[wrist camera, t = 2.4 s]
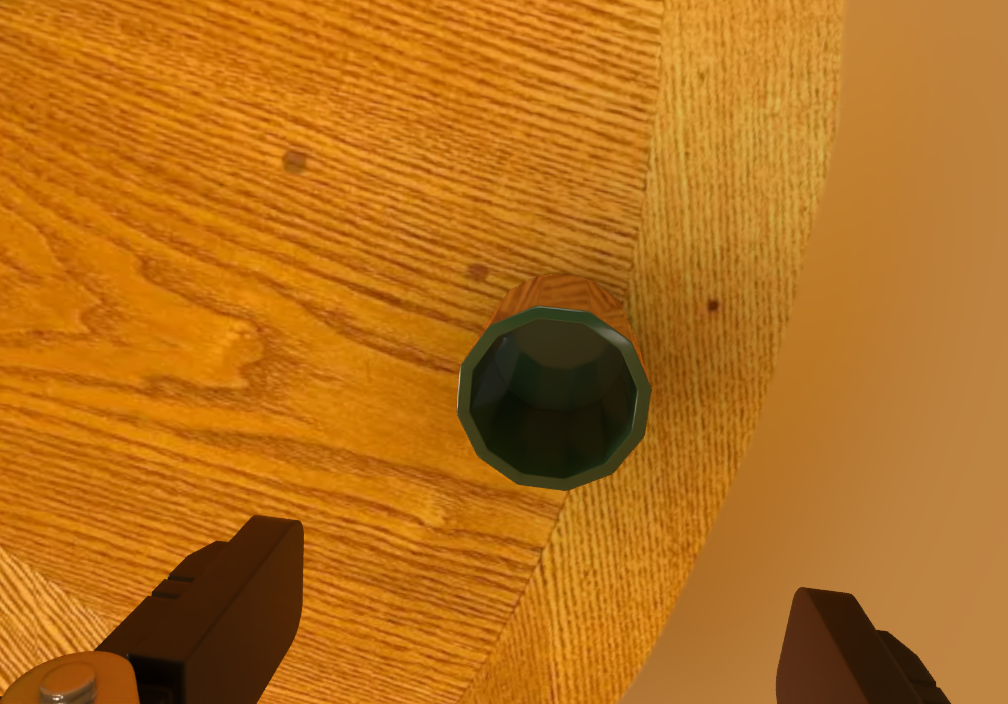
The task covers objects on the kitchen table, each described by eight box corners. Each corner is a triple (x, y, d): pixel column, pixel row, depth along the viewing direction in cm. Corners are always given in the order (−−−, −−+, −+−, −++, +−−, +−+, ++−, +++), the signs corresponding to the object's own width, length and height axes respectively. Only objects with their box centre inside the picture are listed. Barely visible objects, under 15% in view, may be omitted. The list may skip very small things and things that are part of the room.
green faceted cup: (643, 281, 26) (662, 319, 20) (622, 424, 28) (634, 500, 21) (492, 265, 27) (465, 297, 20) (480, 406, 28) (451, 476, 22)
